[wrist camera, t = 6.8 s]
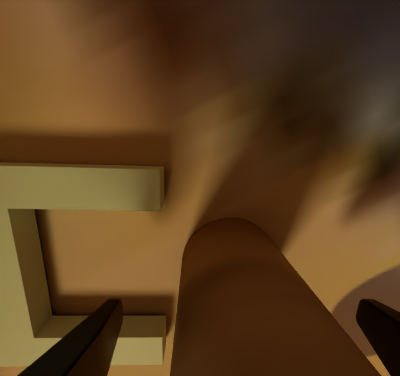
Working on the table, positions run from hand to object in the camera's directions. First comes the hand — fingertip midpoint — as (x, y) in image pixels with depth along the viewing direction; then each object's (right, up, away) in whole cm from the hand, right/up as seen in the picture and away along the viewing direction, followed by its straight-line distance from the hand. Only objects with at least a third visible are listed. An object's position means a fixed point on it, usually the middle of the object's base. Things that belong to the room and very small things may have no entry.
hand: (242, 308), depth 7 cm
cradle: (-7, +1, +2) cm, 8 cm away
